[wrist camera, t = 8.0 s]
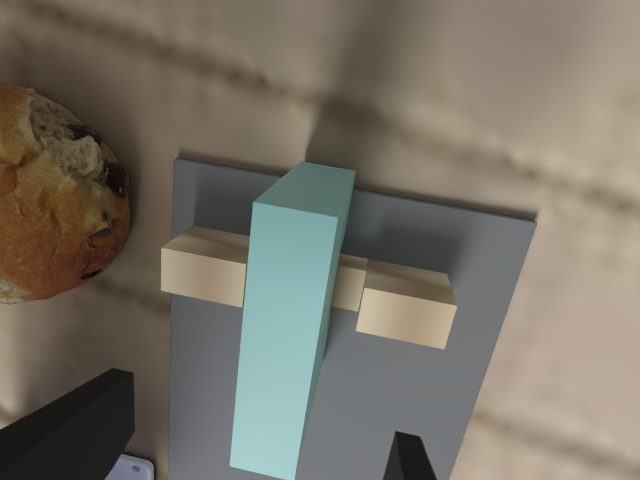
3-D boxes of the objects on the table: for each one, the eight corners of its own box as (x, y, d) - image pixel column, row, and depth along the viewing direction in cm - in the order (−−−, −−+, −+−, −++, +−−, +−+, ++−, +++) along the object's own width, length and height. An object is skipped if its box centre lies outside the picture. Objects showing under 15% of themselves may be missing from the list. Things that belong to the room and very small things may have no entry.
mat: (170, 474, 27) (167, 479, 26) (178, 157, 20) (174, 159, 19) (426, 537, 25) (426, 544, 25) (533, 220, 18) (537, 223, 18)
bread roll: (26, 81, 23) (-194, 74, 17) (140, 89, 18) (-118, 84, 12) (56, 249, 27) (-118, 295, 20) (160, 297, 21) (-32, 380, 15)
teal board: (276, 353, 22) (229, 466, 15) (301, 161, 18) (253, 201, 12) (322, 363, 22) (294, 481, 15) (355, 170, 18) (337, 217, 12)
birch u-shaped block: (191, 263, 21) (160, 290, 18) (192, 225, 20) (161, 247, 17) (436, 312, 20) (444, 349, 17) (447, 273, 19) (457, 306, 16)
